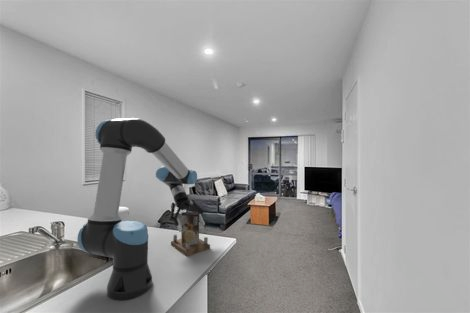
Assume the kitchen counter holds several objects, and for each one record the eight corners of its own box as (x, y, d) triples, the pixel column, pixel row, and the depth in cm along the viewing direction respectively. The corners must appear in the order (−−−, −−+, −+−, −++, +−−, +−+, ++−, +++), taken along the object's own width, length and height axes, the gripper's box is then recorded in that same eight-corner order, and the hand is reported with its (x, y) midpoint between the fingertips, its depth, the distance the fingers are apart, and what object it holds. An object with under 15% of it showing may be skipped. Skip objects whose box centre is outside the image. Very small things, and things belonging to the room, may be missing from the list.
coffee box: (197, 240, 122) (198, 211, 122) (199, 244, 116) (199, 214, 116) (180, 241, 120) (181, 212, 119) (181, 246, 113) (181, 215, 113)
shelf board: (186, 256, 107) (186, 245, 107) (170, 244, 120) (171, 234, 120) (209, 248, 116) (210, 238, 116) (193, 238, 129) (193, 229, 129)
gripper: (196, 196, 137) (209, 226, 126) (156, 202, 121) (167, 237, 110) (200, 189, 133) (214, 219, 122) (160, 193, 117) (172, 229, 106)
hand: (192, 228), depth 116 cm, fingers open, 13 cm apart
